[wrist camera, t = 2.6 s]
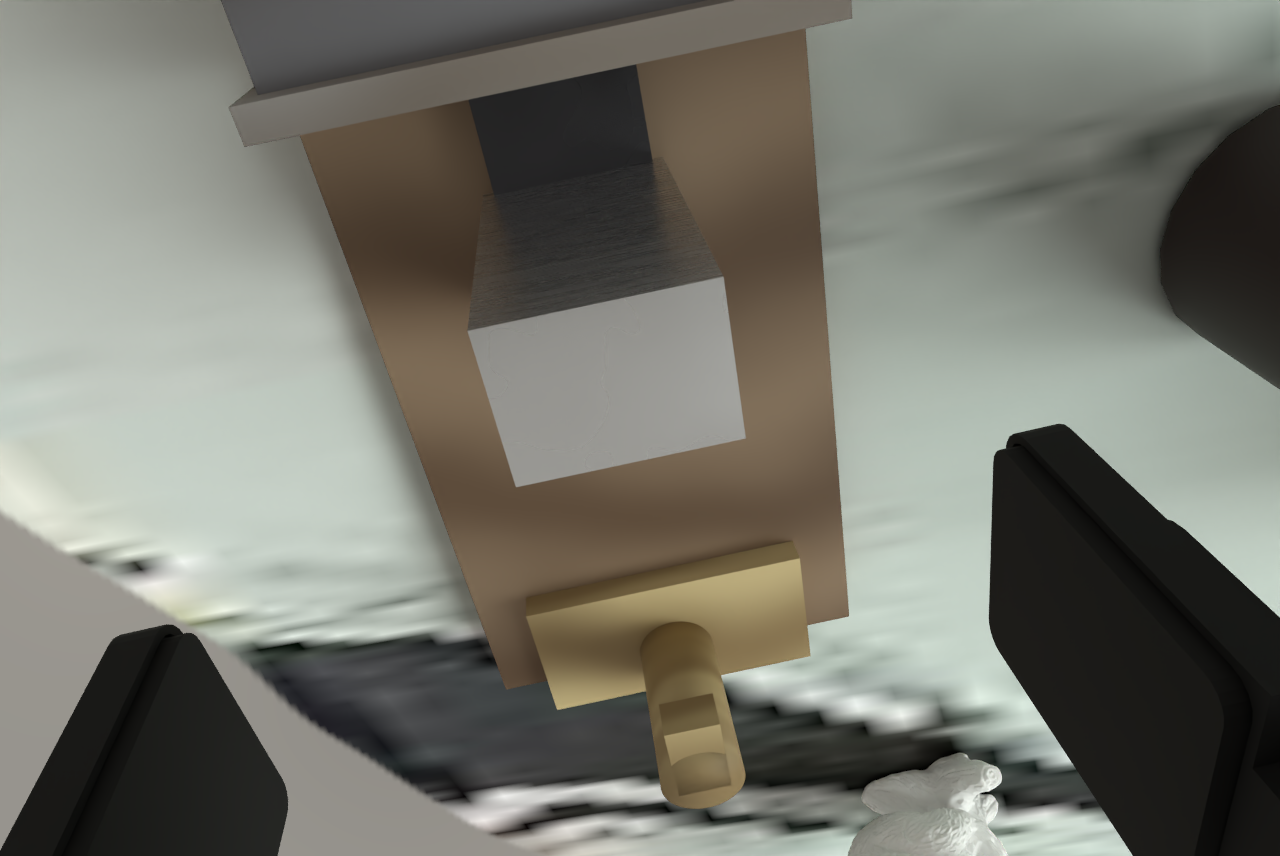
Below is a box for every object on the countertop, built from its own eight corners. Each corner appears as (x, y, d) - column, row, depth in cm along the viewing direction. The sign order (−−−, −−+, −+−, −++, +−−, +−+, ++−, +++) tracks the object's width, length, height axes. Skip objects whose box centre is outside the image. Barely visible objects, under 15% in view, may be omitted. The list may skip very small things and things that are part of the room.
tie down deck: (95, -460, 15) (-153, -657, 10) (743, -597, 15) (874, -873, 10) (510, 676, 30) (508, 863, 24) (840, 606, 30) (915, 776, 24)
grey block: (308, -447, 14) (151, -684, 8) (553, -498, 15) (579, -773, 8) (516, 313, 22) (516, 487, 15) (681, 278, 22) (745, 438, 15)
